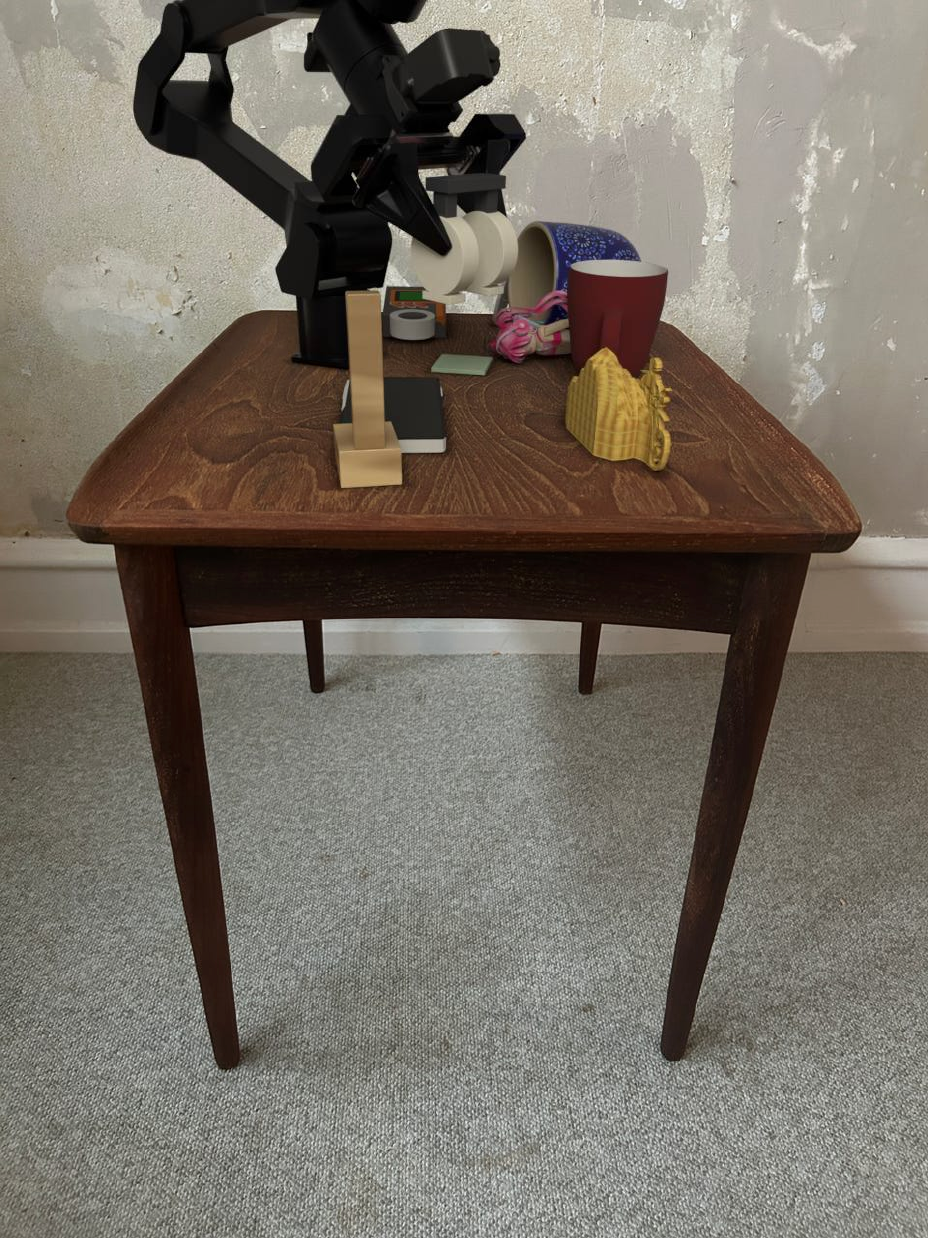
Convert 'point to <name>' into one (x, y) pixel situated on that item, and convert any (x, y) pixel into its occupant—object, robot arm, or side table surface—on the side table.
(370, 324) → the hook stand
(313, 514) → the side table surface
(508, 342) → the toy
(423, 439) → the smartphone
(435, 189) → the headphones
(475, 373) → the felt mat
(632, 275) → the mug
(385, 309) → the electronic device
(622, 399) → the figurine
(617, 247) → the planter
